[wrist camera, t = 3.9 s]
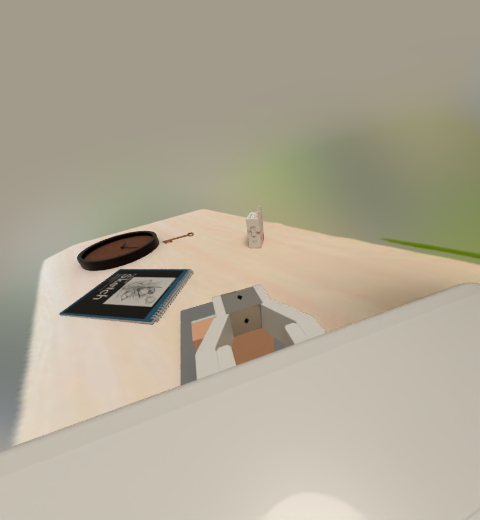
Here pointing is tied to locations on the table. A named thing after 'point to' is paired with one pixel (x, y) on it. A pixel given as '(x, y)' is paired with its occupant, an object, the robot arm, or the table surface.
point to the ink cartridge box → (255, 228)
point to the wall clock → (118, 250)
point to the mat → (187, 342)
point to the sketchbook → (131, 296)
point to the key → (177, 238)
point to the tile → (237, 341)
